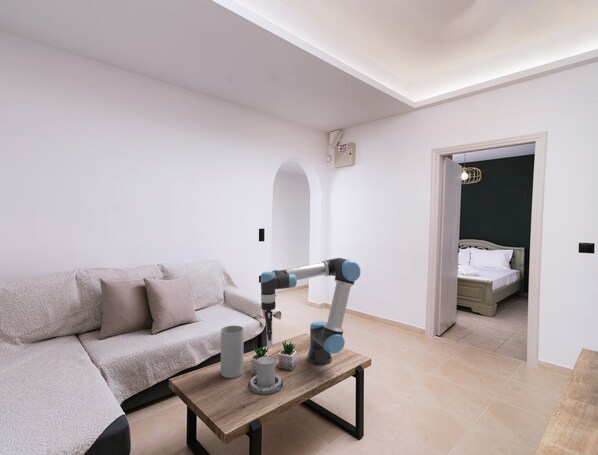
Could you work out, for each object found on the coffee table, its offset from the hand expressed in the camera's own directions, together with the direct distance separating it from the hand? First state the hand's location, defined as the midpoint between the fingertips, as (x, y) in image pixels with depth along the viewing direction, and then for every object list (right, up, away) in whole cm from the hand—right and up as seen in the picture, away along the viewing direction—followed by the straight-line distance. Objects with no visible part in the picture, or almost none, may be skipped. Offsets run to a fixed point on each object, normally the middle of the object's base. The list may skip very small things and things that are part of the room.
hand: (269, 340), depth 168 cm
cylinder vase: (-22, -22, +10) cm, 32 cm away
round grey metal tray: (-1, -22, -3) cm, 22 cm away
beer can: (-1, -21, -3) cm, 22 cm away
